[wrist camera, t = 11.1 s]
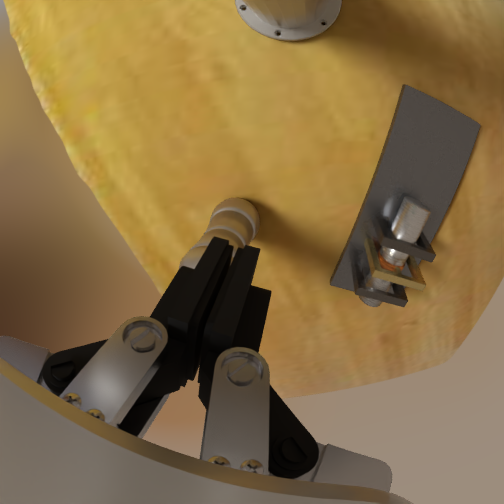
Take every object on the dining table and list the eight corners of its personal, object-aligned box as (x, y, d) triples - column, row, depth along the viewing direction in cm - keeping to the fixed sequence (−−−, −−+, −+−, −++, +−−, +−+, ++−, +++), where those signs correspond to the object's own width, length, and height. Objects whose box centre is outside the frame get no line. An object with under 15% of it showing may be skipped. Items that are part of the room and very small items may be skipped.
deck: (402, 84, 28) (405, 84, 27) (476, 123, 27) (480, 124, 26) (329, 280, 45) (330, 285, 44) (394, 297, 45) (395, 302, 44)
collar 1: (375, 215, 37) (384, 237, 32) (423, 232, 37) (436, 255, 32) (372, 223, 38) (380, 245, 33) (419, 239, 37) (431, 262, 32)
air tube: (399, 192, 34) (408, 205, 31) (425, 202, 34) (436, 216, 31) (356, 285, 43) (358, 303, 40) (379, 291, 43) (384, 310, 40)
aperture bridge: (366, 237, 39) (375, 270, 33) (412, 252, 39) (426, 285, 32) (363, 243, 39) (371, 276, 33) (409, 258, 39) (422, 291, 33)
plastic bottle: (220, 187, 40) (156, 273, 24) (267, 200, 40) (232, 297, 24) (214, 226, 44) (157, 322, 28) (257, 238, 44) (222, 343, 27)
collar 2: (354, 262, 41) (358, 287, 37) (399, 276, 41) (408, 301, 36) (351, 268, 42) (354, 294, 37) (396, 281, 42) (403, 307, 37)
